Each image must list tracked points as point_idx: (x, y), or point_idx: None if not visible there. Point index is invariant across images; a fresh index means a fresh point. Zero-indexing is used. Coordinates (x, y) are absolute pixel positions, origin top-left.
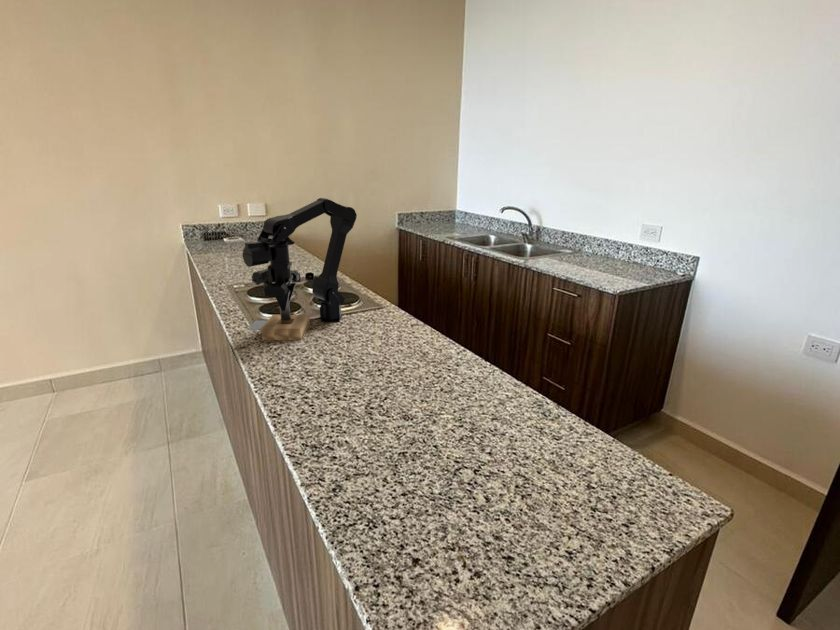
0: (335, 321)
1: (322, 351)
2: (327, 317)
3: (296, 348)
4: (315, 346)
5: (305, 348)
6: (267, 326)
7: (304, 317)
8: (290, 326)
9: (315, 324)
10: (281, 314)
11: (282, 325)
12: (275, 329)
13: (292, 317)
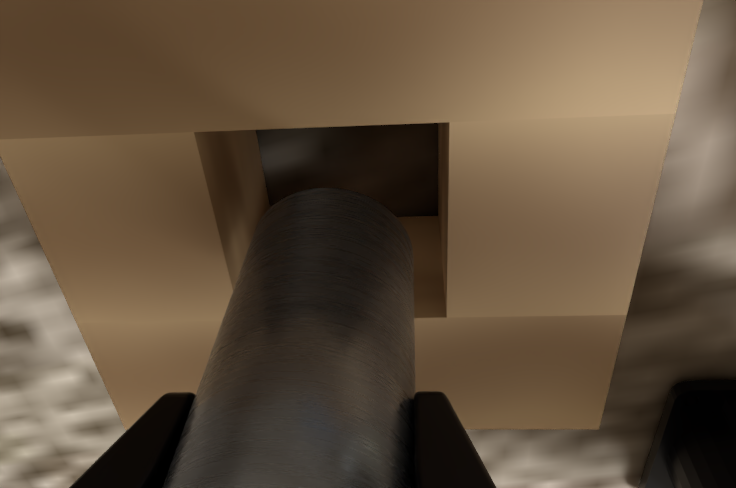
0: (644, 482)
1: (51, 469)
2: (691, 466)
3: (16, 317)
4: (113, 424)
5: (48, 374)
6: (31, 3)
7: (505, 403)
8: (156, 332)
9: (626, 344)
10: (233, 294)
11: (157, 233)
12: (17, 162)
13: (512, 275)
